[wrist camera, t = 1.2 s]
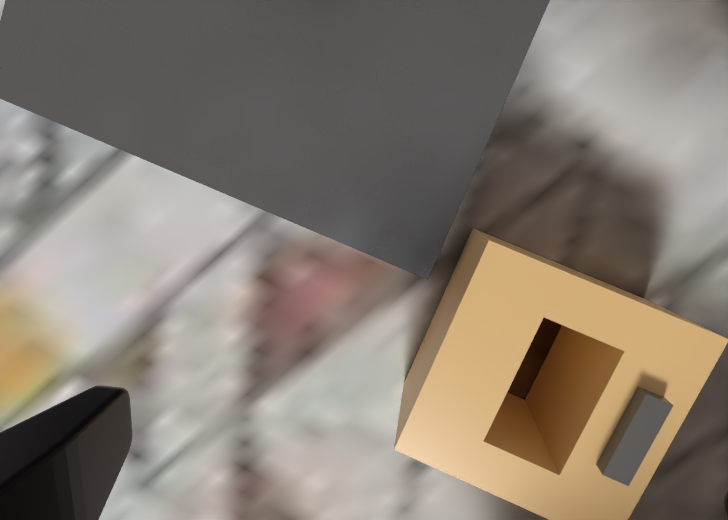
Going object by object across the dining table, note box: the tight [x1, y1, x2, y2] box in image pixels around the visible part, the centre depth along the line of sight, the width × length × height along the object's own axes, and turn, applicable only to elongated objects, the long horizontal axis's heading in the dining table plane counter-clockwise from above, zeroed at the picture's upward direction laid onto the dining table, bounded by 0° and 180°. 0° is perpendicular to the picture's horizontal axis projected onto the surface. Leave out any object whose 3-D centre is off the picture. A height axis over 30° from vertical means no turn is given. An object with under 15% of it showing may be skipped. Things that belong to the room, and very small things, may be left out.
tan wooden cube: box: [394, 228, 728, 520], centre depth 15 cm, size 6×6×6 cm
